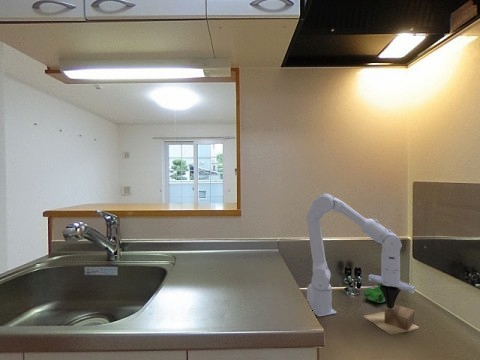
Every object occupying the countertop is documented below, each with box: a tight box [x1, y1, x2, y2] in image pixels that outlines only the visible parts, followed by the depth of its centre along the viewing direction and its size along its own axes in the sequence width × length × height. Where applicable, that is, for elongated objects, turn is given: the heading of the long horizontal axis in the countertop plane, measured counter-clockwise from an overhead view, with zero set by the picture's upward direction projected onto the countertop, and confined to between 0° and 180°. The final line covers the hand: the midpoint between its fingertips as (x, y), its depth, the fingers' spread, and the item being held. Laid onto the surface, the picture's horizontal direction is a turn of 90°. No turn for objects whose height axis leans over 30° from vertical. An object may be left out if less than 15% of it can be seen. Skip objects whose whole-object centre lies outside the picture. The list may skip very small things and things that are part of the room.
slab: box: [384, 303, 415, 332], centre depth 95 cm, size 4×8×7 cm
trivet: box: [363, 311, 420, 336], centre depth 96 cm, size 12×12×1 cm
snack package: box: [363, 283, 386, 304], centre depth 114 cm, size 7×16×5 cm, turn 124°
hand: (390, 307), depth 95 cm, fingers closed
